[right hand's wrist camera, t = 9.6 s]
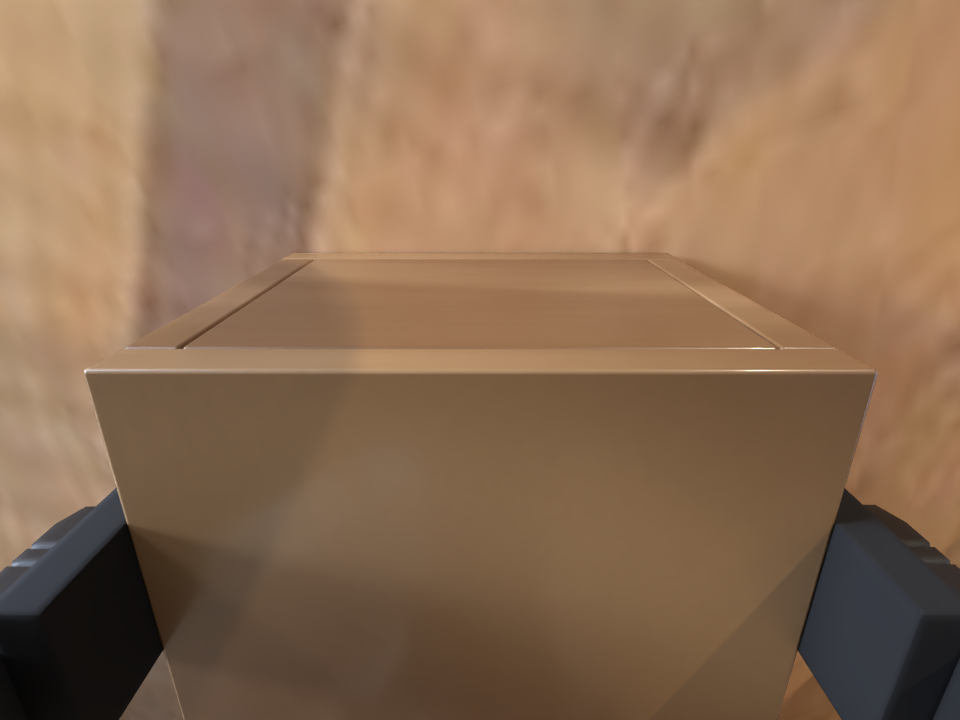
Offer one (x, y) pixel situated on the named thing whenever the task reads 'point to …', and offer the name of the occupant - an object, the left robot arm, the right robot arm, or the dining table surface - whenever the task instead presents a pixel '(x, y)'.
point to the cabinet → (480, 488)
